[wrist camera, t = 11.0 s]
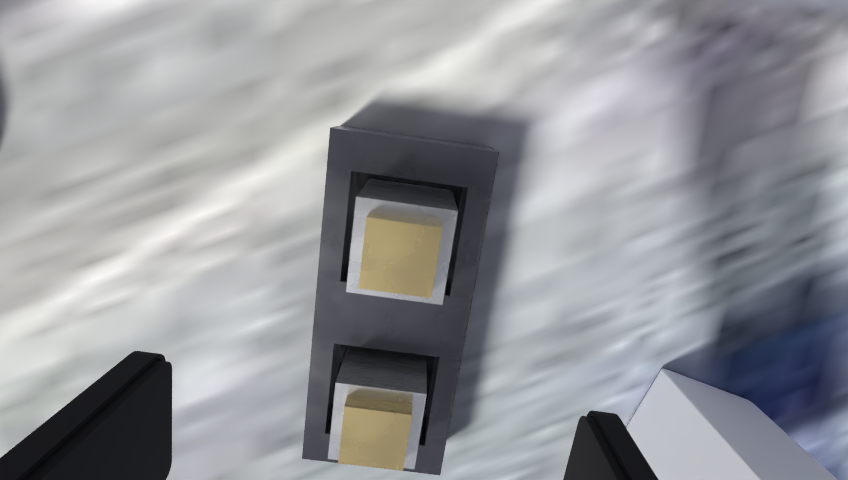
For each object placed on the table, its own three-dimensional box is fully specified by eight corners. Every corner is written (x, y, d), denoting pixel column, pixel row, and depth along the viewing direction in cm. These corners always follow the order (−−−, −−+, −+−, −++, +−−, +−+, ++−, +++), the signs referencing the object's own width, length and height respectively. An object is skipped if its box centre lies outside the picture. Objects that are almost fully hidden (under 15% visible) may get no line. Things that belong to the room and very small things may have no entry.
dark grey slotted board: (491, 147, 28) (498, 152, 25) (438, 443, 34) (440, 475, 31) (340, 125, 28) (330, 127, 25) (312, 428, 33) (302, 458, 30)
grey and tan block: (451, 190, 29) (459, 215, 22) (439, 266, 30) (443, 313, 23) (370, 178, 29) (352, 200, 22) (361, 256, 30) (342, 299, 23)
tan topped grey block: (426, 341, 32) (426, 405, 25) (416, 405, 33) (414, 482, 26) (352, 331, 31) (331, 393, 25) (345, 396, 33) (324, 471, 26)
